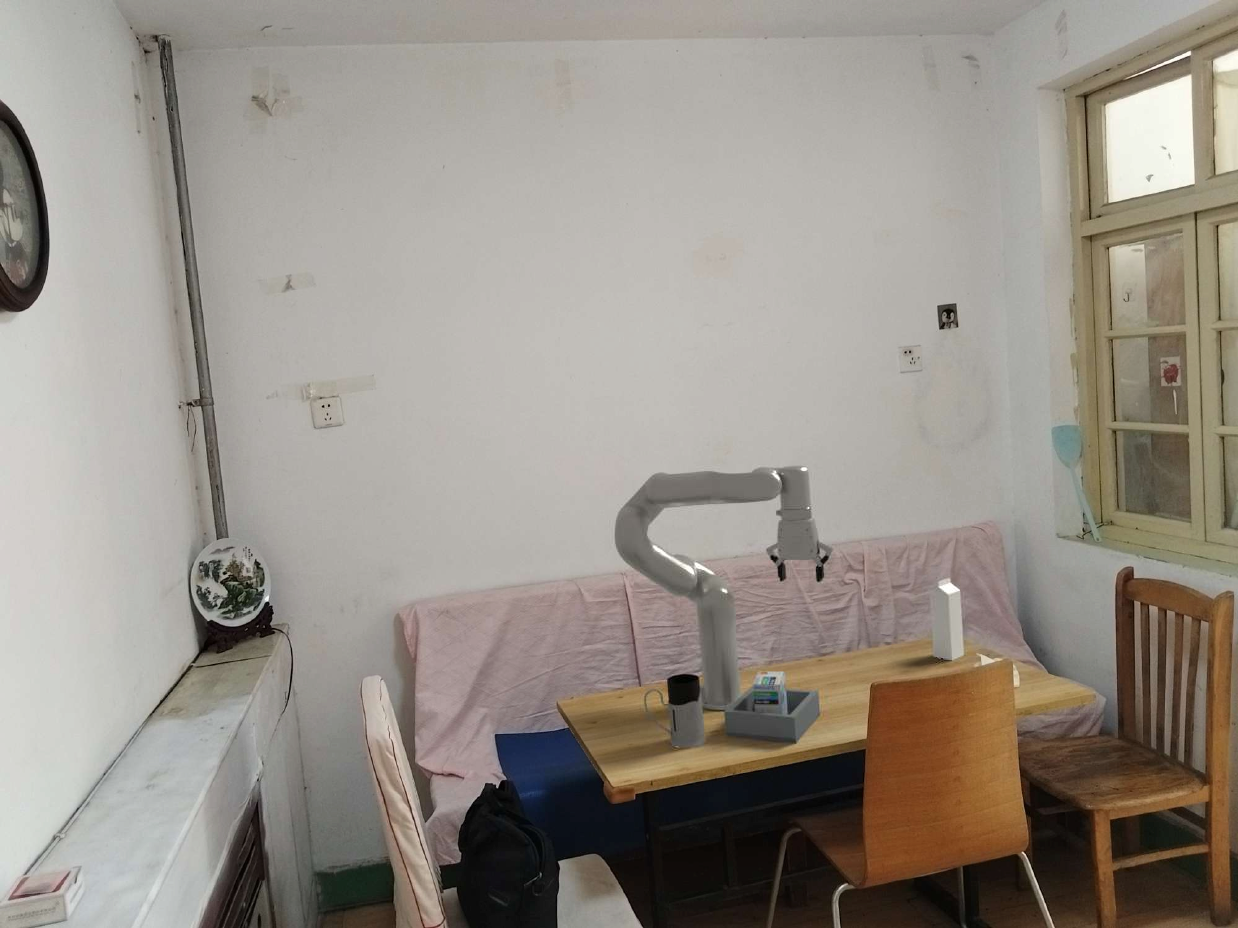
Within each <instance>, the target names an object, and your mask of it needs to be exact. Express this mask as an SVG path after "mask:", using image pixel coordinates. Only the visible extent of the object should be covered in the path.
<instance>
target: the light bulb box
mask: <svg viewBox="0 0 1238 928" xmlns="http://www.w3.org/2000/svg"><path fill="white" fill-rule="evenodd" d="M785 674H786V673H785V671H764V670H763V671H761V670H759V671H757V674H756V676H755V678H754V681H753V683H752V686H753V693H754V705H755V712H764V713H775V714H787V715H788V710H787V697H786V689H787V687H786V685H787V683H786V675H785Z"/></svg>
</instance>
